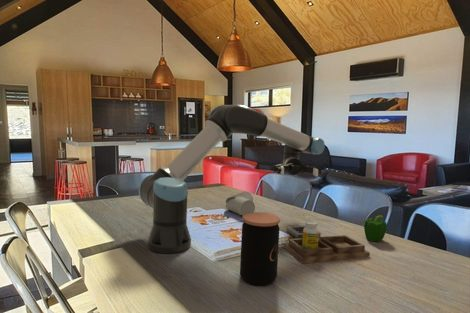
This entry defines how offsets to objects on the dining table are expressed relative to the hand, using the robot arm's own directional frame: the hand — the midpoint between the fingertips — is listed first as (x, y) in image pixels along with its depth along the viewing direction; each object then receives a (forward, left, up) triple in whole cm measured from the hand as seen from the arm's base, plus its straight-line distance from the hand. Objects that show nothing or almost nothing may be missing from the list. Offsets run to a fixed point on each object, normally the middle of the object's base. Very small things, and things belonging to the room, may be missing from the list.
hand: (300, 172), depth 131 cm
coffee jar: (-29, -32, -26) cm, 51 cm away
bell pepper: (+29, -12, -26) cm, 40 cm away
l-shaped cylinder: (-11, +37, -26) cm, 47 cm away
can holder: (+3, -1, -26) cm, 26 cm away
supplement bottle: (-5, -19, -24) cm, 31 cm away
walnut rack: (+2, -19, -26) cm, 32 cm away
